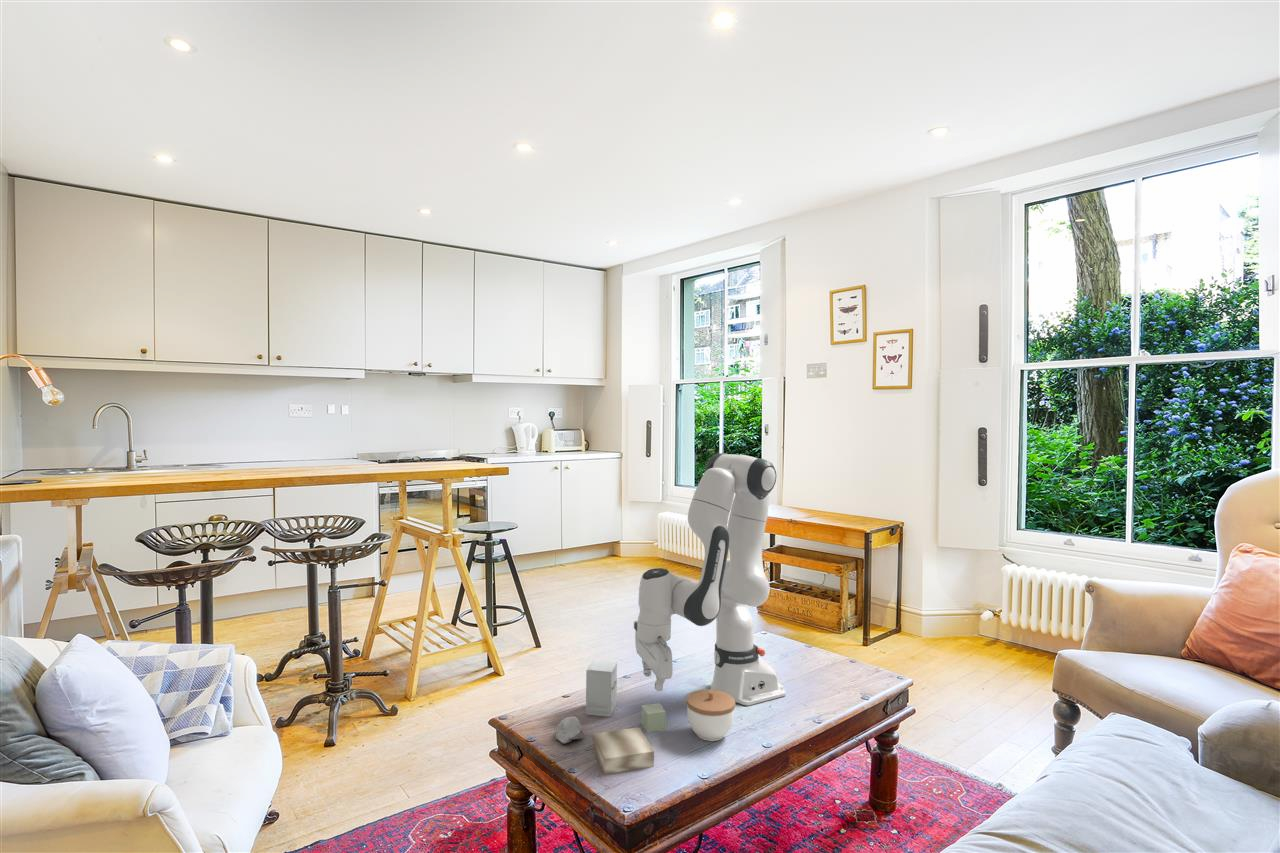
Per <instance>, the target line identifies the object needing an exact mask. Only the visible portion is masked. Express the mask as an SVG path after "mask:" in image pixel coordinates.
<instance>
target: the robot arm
mask: <svg viewBox="0 0 1280 853" xmlns="http://www.w3.org/2000/svg"><path fill="white" fill-rule="evenodd" d="M706 462H707V463H706V465H705V469H704V473H703V474H702V476H701V479H699V482H698V483H697V484H698V485H697V486H696V489H695V491H694V494H693V496H692V498H691V502H690V504H689V508H688V512H687V523H688V525H689V527H690V529H691V530H692V533H694V534H695V535H696V537H698V538H699V540H700V541H701V543H702V544H703V545H702V546H703V547H704V558H703V564H702V568H701V573H700V577H699V578H700V579H699V581H698V583H697V582H695V581H692V580H690V579H688V578H684V577H681V576H678V575H676V574H673V573H671V571H669V570H668V569H667V568H662V567H659V568H657V567H656V568H655V567H654V568H650V569H648V570H646V571H645V572H643V574H642V575H641V578H640V581H639V582H640V583H639V585H638V586H639V588H638V608H639V614H638V617H637V620H635V621H633V628H634V630H635V632H634V635H635V636H634V640H635V650H636V654H638V656H639V657H640V658H641V662H642V668H643V672H642V674H643V675H644V677H651V676H652V673H653V674H654V675H655V679H656V681H655V682H654V689H655V690H656V692H662V691H663V690H664V684H665V680H669V679H672V676H673V673H674V672H673V670H674V669H673V668H674V667H673V654H672V653H673V652H672V649H671V647H670V646H669V645H668V643H667V642H668V641H670V640H671V636H672V634H671V633H672V616H673V615H677V616H679V617H681V618H684V619H686V620H687V621H689V622H691V623H692V624H694V625H695V626H697V627H705V626H708V625H710V623H713V621H715V622H716V623H715V624H716V626H715V628H716V632H715V634H716V635H715V636H716V641H715V643H714V652H713V653H714V656H713V657H714V673H713V677H712V682H711V685H710V688H709V690H717V691H722V692H725V693H727V694H729V695H731V696H732V697H733V698H734V700H735V704H737V703H738V704H741V705H743V706H752V705H756V704H759V703H763V702H767V701H771V700H774V699H778V698H782V697H785V696H786V695H787V694H786V692H787V691H786V688H785V687H784V686H783V684H782V683H780V682H779V681H778V680H779V679H778V676H777V673H776V671H775V669H774V668H773V667H772V666H771V665H769V664H768V663H767V662H766V661H765V660H763V658H761V657H765V655H766V651H765V649H764V648H762V647H759V646H758V645H756V644H754V628H755V627H754V625H755V624H754V623H755V622H754V619H753V616H752V614H751V613H750V610H749V608H748V607H760V606H761V605H763V604H764V603H765V602H766V601H767V599H768V598H769V595H770V592H771V591H770V590H771V588H770V583H769V580H768V578H767V576H766V573H765V570H764V561H763V542H764V536H765V531H766V525H767V521H768V515H769V514H768V513H769V505H770V504H769V501H770V499H769V498H770V496H769V495H770V493H771V492H772V491H773V489H774V487H775V485H776V483H777V471H776V468H775V466H774V464H773V463H772V462H771V461H769V460H767V459H764V458H761V457H760V458H758V457H754V456H750V455H747V454H730V453H729V454H728V453H726V452H721V453H716V454H713V455H712V456H711V457H710V458H709V459H708V461H706ZM728 554H729V555H728ZM728 556H729V558H728Z"/></svg>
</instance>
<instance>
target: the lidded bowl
mask: <svg viewBox="0 0 1280 853" xmlns="http://www.w3.org/2000/svg"><path fill="white" fill-rule="evenodd" d="M735 708H736V702H735V700H734V698H733V697H732V696H731V695H729V694H727V693H725V692H722V691H717V690H710V689H700V690H696V691H692V692H691V693H689V694H688V695H687V697H686V711H687V712H686V713H687V719H688V723H689V726H690V728H691V729H692V731H693V732H694V733H695V735H696V736H697V737H698V738H699V739H701V740H704V741H706V742H716V741H721V740H722V739H723V738H724V737H725V736H726V735H727V734H728V733H729V731H730V730H731V728H732V727H733V723H734V720H735Z"/></svg>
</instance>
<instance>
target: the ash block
mask: <svg viewBox="0 0 1280 853" xmlns="http://www.w3.org/2000/svg"><path fill="white" fill-rule="evenodd" d="M592 749H593V752H594V753H595V756H596V758H597V760H598V763H599V764H600V766H601V769H602V771H603V773H604V775H609V774H616V773H620V772H625V771H626V772H627V771H632V770H638V769H639V770H640V769H646V768H651V767H654V766H655V750H654V749H653V747H652V745H651V744H650V743H649V741H648V740H647V738H646V736H645V735H644V733H643V731H642V730H641V727H639V726H637V727H630V728H623V729H617V730H610V731H604V732H603V731H602V732H594V733H592Z"/></svg>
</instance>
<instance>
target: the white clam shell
mask: <svg viewBox="0 0 1280 853" xmlns="http://www.w3.org/2000/svg"><path fill="white" fill-rule="evenodd" d="M583 738H584V729H583V728H582V725H581V723H580V721H579V718H577V717H576V716H568V717H567V716H566V717H565V718H563V719H562V720H561V721H560V723H559V724H557V726H556V734H555V739H556V740H557V741H559V742H560V743H562V744H567V743H570V742H572V740H581V739H583Z"/></svg>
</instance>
